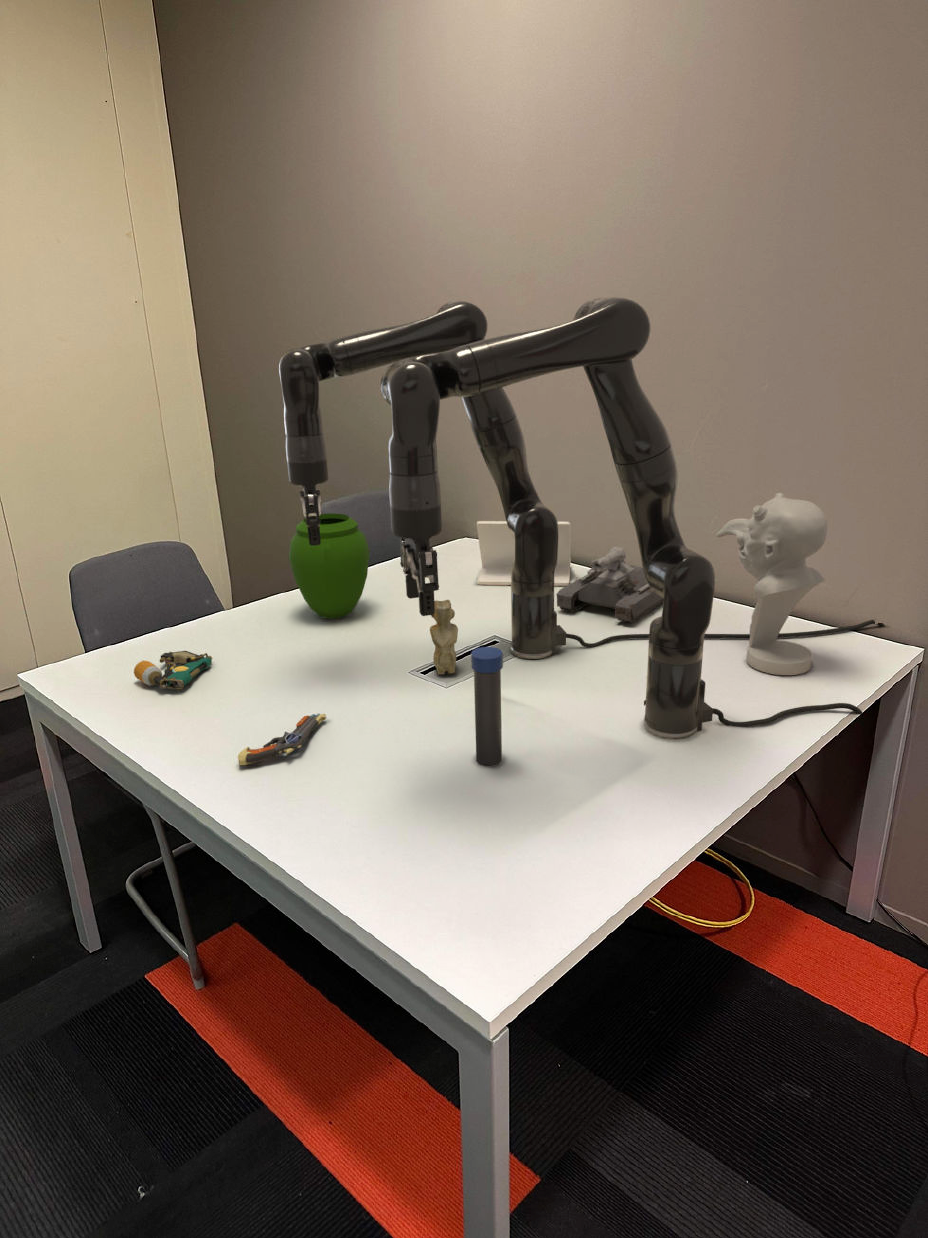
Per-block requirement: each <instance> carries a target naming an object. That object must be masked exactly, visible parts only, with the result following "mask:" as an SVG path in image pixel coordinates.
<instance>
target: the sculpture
mask: <svg viewBox="0 0 928 1238" xmlns="http://www.w3.org/2000/svg"><path fill="white" fill-rule="evenodd" d="M434 602H435V613H434V614H433V615H430V617H431V618H432V619H433V620H434V621H435V622H436V623H435V624H433V625H431V626H429V633H430V636H431V640H432V641H431V642H432V643H433V645H434V648H435V649H434V652H433V656H432V657H433V659H432V660H433V665H434V667H435V668H436V671H437V674H438V675H445V674H446V672H447V673H448V674H455V673H456V666H457V665H456V663H457V652H456V649H455V644H456V643H457V642H458V637H459V635H458V634H459V627H458V626H457V624H455V623H453V622H451V621H452V620H453V619H454V618H455V615H456V611H455V609H453V608H452V602H451V601H450V599H445V600H434Z"/></svg>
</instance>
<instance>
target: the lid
mask: <svg viewBox="0 0 928 1238" xmlns="http://www.w3.org/2000/svg"><path fill="white" fill-rule="evenodd" d="M470 659H471V660H470V661H471V663H470V664H471V665H470V666H471V669H472V671H473V672H474V671H476V672H480V673H493V672H497V671H499V670H501V671H502V669H503V668H504V654H503V650H502V649H500V648H497V647H494V646H481V647H477V648H474V649H472V651H471V653H470Z"/></svg>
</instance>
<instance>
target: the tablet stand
mask: <svg viewBox="0 0 928 1238" xmlns="http://www.w3.org/2000/svg"><path fill="white" fill-rule="evenodd" d="M557 522H558V558H557V565H556V568H555V571H554V587H556V586H557V587H566V586H567V585H569V584H570V580H571V579H570V578H571V565H572V564H571V560H572V558H571V522H569V521H557ZM476 531H477V537H478V544H479V551H480V557H481V558H480V559H481V570H480V573H479V575H478V577H477V580H476V581H477V582H476V584H478V585H484V586H485V585H486V586H487V585H489V586H490V585H491V586H511V566H512V564H513V563H514V561H515V538H514V537H513V536H512V534H511V533H510V531H509V529H508V526H507V522H506V520H505V521H504V520H477V522H476Z"/></svg>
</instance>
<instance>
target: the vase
mask: <svg viewBox="0 0 928 1238" xmlns="http://www.w3.org/2000/svg"><path fill="white" fill-rule="evenodd" d="M319 519H320V522H321V523H320V526H319V528H320V539H321V544H320V545H313V546H311V545H310V544H309V535H308V527H307V525H306V521H307V520H306V517H304V518H303V519H302V520H301V521H300V522H299V523H298V524H297V525H296V526H295V532H296V533H295V534H294V536H293V537H292V538H291V540H290V542H289V551H288V559H289V564H290V566H291V567H290V568H291V570H292V575H293V578H294V581H295V584H296V586H297V587H298V589H299V591H300V593H301V596H302V597H303V600H304V601H305V603H306V604H307V605H308V607H309V608H310V609H311V611H312V612H314V613H315V614H316V615H317V616H318V617H320V618H324V619H326V620H327V619H329V620H336V619H341V618H345V617H347V616H349V615H350V614H351V613H352V612H353V611H354V610H355V608H356V607H357V605H358V604H359V601H360V599H361V597H362V595H363V592H364V588H365V586H366V581H367V578H368V570H369V561H370V560H369V559H370V548H369V545H368V541H367V537H366V535H365V534H364V533H363V532H362V531H361V530H360V529H359V527H358V524H359V523H358V521H356V520H355V519H353V518H352V517H350V516H349V515H347V514H344V513H335V512H334V513H333V512H331V513H321V515H320V516H319Z"/></svg>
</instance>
